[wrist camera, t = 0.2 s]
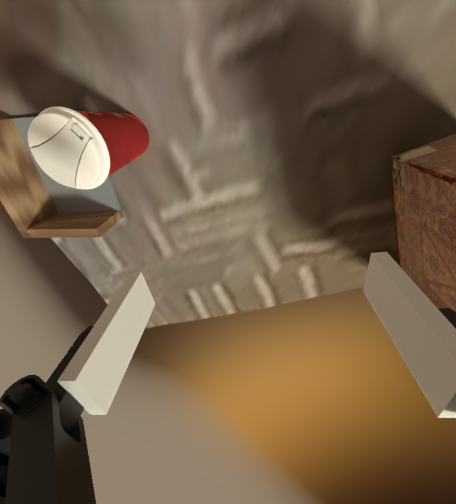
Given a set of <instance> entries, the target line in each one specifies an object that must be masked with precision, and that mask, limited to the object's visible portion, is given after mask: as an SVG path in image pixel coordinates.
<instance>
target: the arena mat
mask: <svg viewBox="0 0 456 504" xmlns="http://www.w3.org/2000/svg"><path fill="white" fill-rule="evenodd" d="M34 118H35V117H26V118H14V119H13V121H14V123H15V125H16V127H17V129H18V131H19V133H20V135H21V137H22V139H23V141H24V143H25V146H26V148H27V150H28V152H29V154H30V156H31V158H32V160H33V162H34V164H35V166H36V168H37V170H38V172H39V174H40V177H41V179H42V181H43V183H44V185H45V187H46V189H47V191H48V193H49V195H50V197H51V199H52V201H53V203H54V205H55V207H56V210H57V212H93V211H119V212H120V211H121V212H122V210H121V207H120V204H119V201H118V198H117V195H116V192H115V189H114V186H113V183H112V180H111V177H110V175H109V176H108V177H107V178H106V180H105V181H104V182H103V183H102V184H101V185H100V186H98V187H96V188H93V189H88V190H87V189H76V188H72V187H68V186H64V185H62V184H60V183H58V182H56V181H55V180H53V179H52V178H51V177H49V176H48V175H47V174H46V173H45V172H44V171H43V170H42V169H41V168H40V166H39V165H38V163H37V162H36V160H35V158H34V156H33V154H32V152H31V150H30V148H31V147H29V144H28V129H29V126H30V124H31V122H32V121H33V119H34ZM121 214H123V213H121Z"/></svg>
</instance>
